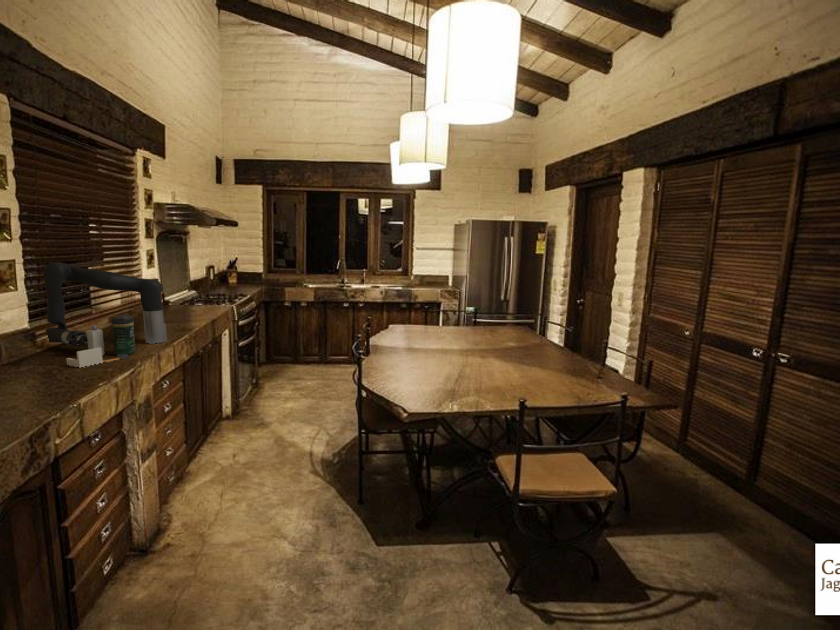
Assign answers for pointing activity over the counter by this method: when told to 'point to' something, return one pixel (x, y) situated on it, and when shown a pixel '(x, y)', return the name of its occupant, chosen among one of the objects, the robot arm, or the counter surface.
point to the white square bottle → (95, 338)
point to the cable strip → (111, 360)
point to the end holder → (86, 358)
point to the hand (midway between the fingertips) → (94, 341)
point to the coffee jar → (123, 334)
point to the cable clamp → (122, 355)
